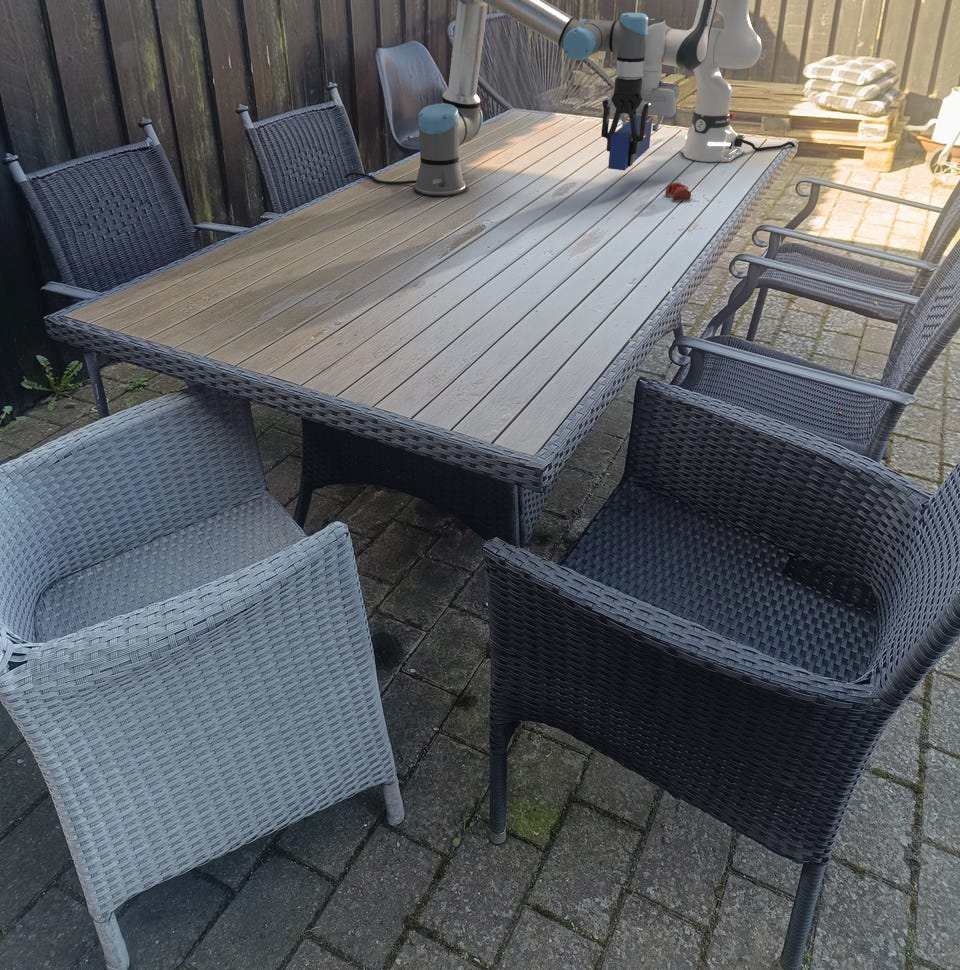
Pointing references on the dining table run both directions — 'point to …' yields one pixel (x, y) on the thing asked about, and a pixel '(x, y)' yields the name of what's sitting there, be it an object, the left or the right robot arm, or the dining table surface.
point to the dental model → (678, 191)
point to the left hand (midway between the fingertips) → (620, 164)
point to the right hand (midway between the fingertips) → (639, 129)
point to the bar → (627, 144)
